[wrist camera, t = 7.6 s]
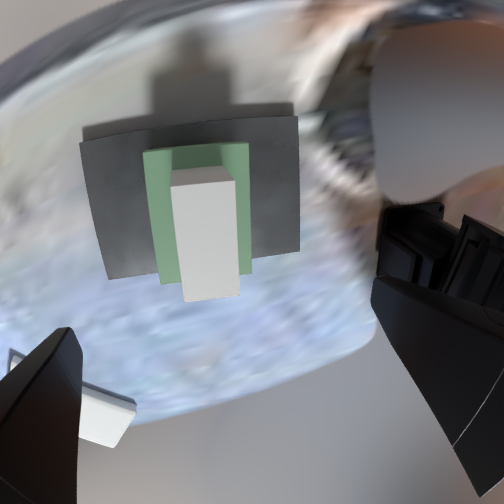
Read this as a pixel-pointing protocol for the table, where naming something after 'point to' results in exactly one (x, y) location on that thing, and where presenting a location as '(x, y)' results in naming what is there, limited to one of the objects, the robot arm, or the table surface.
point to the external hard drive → (100, 415)
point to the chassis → (219, 131)
